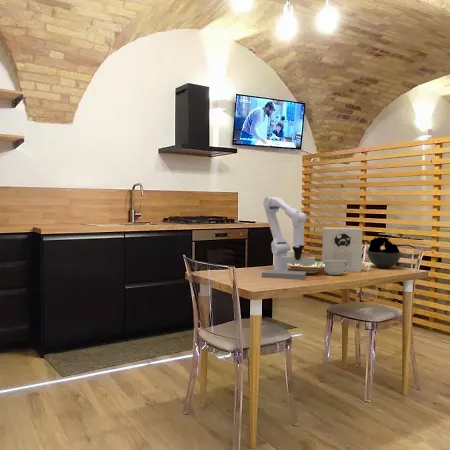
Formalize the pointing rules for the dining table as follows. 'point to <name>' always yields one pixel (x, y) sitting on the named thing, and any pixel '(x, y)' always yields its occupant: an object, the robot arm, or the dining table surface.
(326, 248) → the cereal box
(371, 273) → the dining table surface
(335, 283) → the dining table surface
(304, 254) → the crate terracotta
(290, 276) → the block
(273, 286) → the dining table surface
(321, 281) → the dining table surface
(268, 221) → the robot arm
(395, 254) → the coal bowl
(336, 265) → the teacup
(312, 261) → the grey rectangular bar
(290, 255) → the crate cream
